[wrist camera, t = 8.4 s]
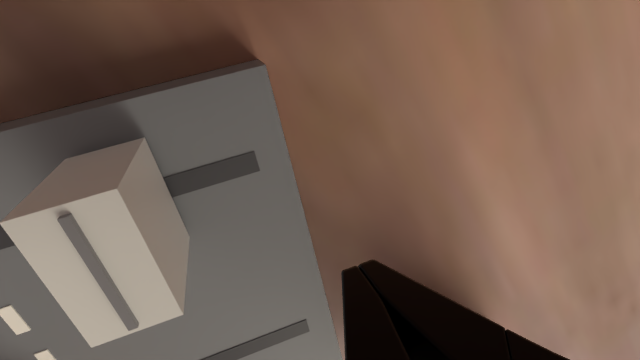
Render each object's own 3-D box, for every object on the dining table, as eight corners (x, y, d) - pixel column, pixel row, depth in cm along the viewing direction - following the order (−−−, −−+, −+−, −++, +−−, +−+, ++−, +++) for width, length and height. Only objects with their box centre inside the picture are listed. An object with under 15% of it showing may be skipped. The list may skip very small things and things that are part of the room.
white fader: (144, 137, 14) (115, 191, 10) (189, 237, 17) (183, 318, 12) (65, 158, 14) (-6, 226, 9) (122, 258, 16) (89, 352, 11)
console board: (258, 59, 17) (265, 64, 15) (333, 338, 26) (345, 368, 24) (-245, 184, 14) (-332, 216, 12) (40, 455, 23) (22, 503, 20)
